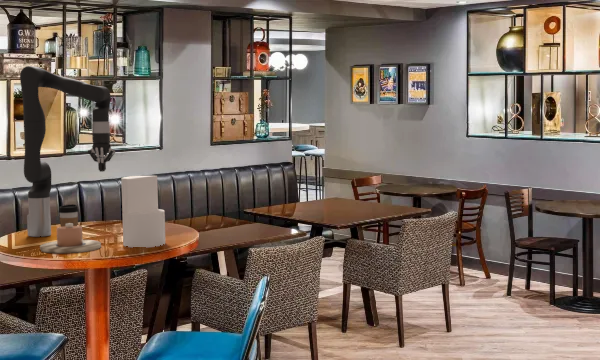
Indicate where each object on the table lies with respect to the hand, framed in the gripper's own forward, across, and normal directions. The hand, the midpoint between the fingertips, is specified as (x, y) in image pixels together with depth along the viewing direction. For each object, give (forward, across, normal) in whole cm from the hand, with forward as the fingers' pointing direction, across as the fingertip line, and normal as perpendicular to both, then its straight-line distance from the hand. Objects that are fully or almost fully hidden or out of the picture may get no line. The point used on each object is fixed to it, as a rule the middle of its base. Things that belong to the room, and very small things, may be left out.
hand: (102, 171), depth 366 cm
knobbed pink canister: (+28, +2, -31) cm, 41 cm away
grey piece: (+29, +27, -14) cm, 42 cm away
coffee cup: (+29, -10, -12) cm, 33 cm away
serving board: (+29, +2, -30) cm, 42 cm away
